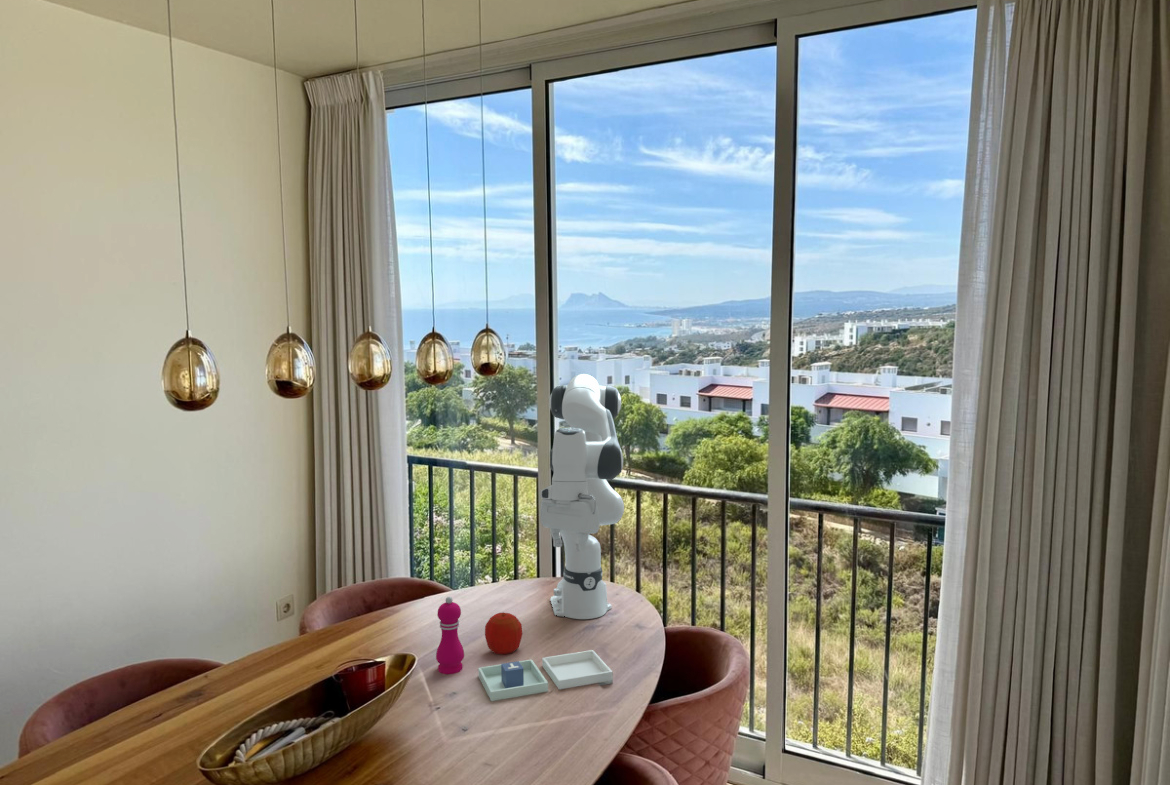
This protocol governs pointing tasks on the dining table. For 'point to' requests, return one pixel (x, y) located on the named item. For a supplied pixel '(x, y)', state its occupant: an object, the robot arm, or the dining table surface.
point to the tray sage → (497, 690)
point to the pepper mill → (449, 639)
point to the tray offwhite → (577, 669)
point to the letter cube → (512, 674)
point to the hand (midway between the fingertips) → (568, 548)
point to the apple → (503, 633)
